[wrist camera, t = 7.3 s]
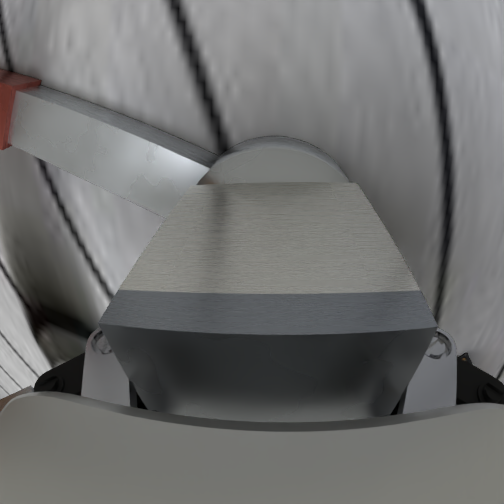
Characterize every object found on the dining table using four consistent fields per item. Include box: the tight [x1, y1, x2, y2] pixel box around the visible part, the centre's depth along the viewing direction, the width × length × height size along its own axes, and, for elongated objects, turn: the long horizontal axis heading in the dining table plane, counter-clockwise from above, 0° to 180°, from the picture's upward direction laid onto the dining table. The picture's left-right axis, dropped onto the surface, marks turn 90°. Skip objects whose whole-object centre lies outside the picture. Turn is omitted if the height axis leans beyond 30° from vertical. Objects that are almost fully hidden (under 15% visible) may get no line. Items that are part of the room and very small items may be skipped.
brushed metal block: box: [98, 182, 438, 422], centre depth 9 cm, size 6×6×7 cm
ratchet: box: [0, 69, 350, 218], centre depth 11 cm, size 27×8×6 cm, turn 63°
